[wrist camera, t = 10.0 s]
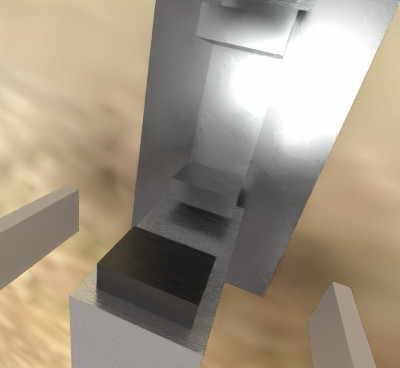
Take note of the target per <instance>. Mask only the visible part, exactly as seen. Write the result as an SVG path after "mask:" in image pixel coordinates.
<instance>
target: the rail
mask: <svg viewBox="0 0 400 368" xmlns="http://www.w3.org/2000/svg"><path fill="white" fill-rule="evenodd" d="M399 1H400V0H156V3H155V12H154V22H153V31H152V41H151V50H150V60H149V69H148V79H147V88H146V98H145V107H144V116H143V126H142V135H141V145H140V154H139V164H138V173H137V183H136V192H135V202H134V211H133V221H132V228H133V227H134V226H137V225H138V224H139V223H140V222H141V221H142V220H143V219H144V218H145V217H146V216H147V214H148V213H149V212H150V211H151V210H152V209H153V208H154V207H155V206H156V205H157V204H158V203H159V202H160V201H161V200H162V199H163V198H164V197H165V196H166V195H167V194H168V193H169V194H168V198H171V199H174V200H177V201H180V202H183V203H186V204H189V205H192V206H195V207H197V208H200V209H203V210H206V211H209V212H212V213H215V214H218V215H221V216H224V217H227V218H230V219H231V217H232V214H233V211H234V209H235V206H238V207H241V208H244V212H243V216H242V219H241V223H240V227H239V230H238V234H237V237H236V241H235V245H234V248H233V252H232V255H231V259H230V263H229V266H228V270H227V273H226V277H225V281H224V282H226V283H229V284H231V285H234V286H237V287H239V288H242V289H244V290H247V291H249V292H252V293H254V294H257V295H260V296H262V297H263V295H264V293H265V291H266V289H267V287H268V285H269V282H270V280H271V278H272V276H273V274H274V272H275V269H276V267H277V265H278V263H279V261H280V259H281V256H282V254H283V252H284V250H285V248H286V246H287V243H288V241H289V239H290V237H291V235H292V233H293V230H294V228H295V226H296V224H297V222H298V220H299V217H300V215H301V213H302V211H303V209H304V207H305V205H306V202H307V200H308V198H309V196H310V194H311V192H312V189H313V187H314V185H315V183H316V181H317V179H318V176H319V174H320V172H321V170H322V168H323V166H324V163H325V161H326V159H327V157H328V155H329V153H330V150H331V148H332V146H333V144H334V142H335V140H336V137H337V135H338V133H339V131H340V129H341V127H342V124H343V122H344V120H345V118H346V116H347V114H348V111H349V109H350V107H351V105H352V103H353V101H354V99H355V96H356V94H357V92H358V90H359V88H360V86H361V83H362V81H363V79H364V77H365V75H366V73H367V70H368V68H369V66H370V64H371V62H372V60H373V57H374V55H375V53H376V51H377V49H378V47H379V44H380V42H381V40H382V38H383V36H384V34H385V31H386V29H387V27H388V25H389V23H390V21H391V18H392V16H393V14H394V12H395V10H396V8H397V6H398V3H399Z"/></svg>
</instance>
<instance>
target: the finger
mask: <svg viewBox="0 0 400 368" xmlns="http://www.w3.org/2000/svg"><path fill="white" fill-rule="evenodd" d="M168 194H169V193H168ZM168 194H167V195H166V196H165V197H164V198H163V199H162V200H161V201H160V202H159V203H158V204H157V205H156V206H155V207H154V208H153V209H152V210H151V211H150V212H149V213H148V214H147V216H146V217H145V218H144V219H143V220H142V221H141V222H140V223H139V224H138V225H137V226H134V227H133V228H132V229H131V230H130V231H129V232H128V233H127V234H126V235H125V236H124V237H123V238H122V239H121V240H120V241H119V242H118V243H117V244H116V245H115V246H114V247H113V248H112V249H111V250H110V251H109V252H108V253H107V254H106V255H105V256H104V257H103V258H102V259H101V260H100V261H99V262H98V263H97V267H96V268H95V269H94V270H93V271H92V272H91V273H90V274H89V275H88V276H87V277H86V278H85V279H84V280H83V282H82V283H81V284H80V285H79V286H78V287H77V288H76V289H75V290H74V291H73V292H72V293H71V294H70V295H69V303H70V332H71V361H72V368H199V367H200V364H201V361H202V359H203V356H204V352H205V349H206V345H207V342H208V338H209V334H210V331H211V327H212V324H213V320H214V316H215V313H216V309H217V306H218V302H219V298H220V295H221V291H222V288H223V284H224V281H225V277H226V273H227V270H228V266H229V263H230V259H231V255H232V252H233V248H234V245H235V241H236V237H237V234H238V230H239V227H240V223H241V219H242V216H243V212H244V208H241V207H238V206H235V209H234V211H233V214H232V217H231V219H230V218H227V217H224V216H221V215H218V214H215V213H212V212H209V211H206V210H203V209H200V208H197V207H195V206H192V205H189V204H186V203H183V202H180V201H177V200H174V199H171V198H168Z"/></svg>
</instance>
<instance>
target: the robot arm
mask: <svg viewBox="0 0 400 368" xmlns="http://www.w3.org/2000/svg"><path fill="white" fill-rule="evenodd" d="M78 231H79V205H78V189H76V188H73V187H70V186H67V185H65V186H63V187H61V188H59V189H57V190H55V191H53V192H51V193H49V194H47V195H45V196H43V197H41V198H39V199H38V200H36V201H34V202H32V203H30V204H28V205H26V206H24V207H22V208H20V209H18V210H16V211H14V212H12V213H10V214H8V215H6V216H4V217H2V218H0V290H1V289H3V288H4V287H5V286H7V285H8V284H9V283H11V282H12V281H13V280H15V279H16V278H17V277H19V276H20V275H21V274H22V273H24V272H25V271H26V270H28V269H29V268H30V267H32V266H33V265H34V264H36V263H37V262H38V261H40V260H41V259H42V258H43V257H45V256H46V255H47V254H49V253H50V252H51V251H53V250H54V249H55V248H57V247H58V246H59V245H61V244H62V243H63V242H65V241H66V240H67V239H68V238H70V237H71V236H72V235H74V234H75V233H76V232H78ZM308 327H309V337H310V346H311V355H312V364H313V368H376V365H375V362H374V359H373V356H372V352H371V349H370V346H369V343H368V340H367V337H366V334H365V331H364V328H363V325H362V322H361V319H360V316H359V313H358V310H357V307H356V303H355V300H354V297H353V294H352V291H351V288H350V287H347V286H344V285H341V284H339V283H336V282H333V281H332V283H331V284H330V286H329V287H328V289H327V291H326V292H325V294H324V296H323V297H322V299H321V300H320V302H319V304H318V305H317V307H316V309H315V310H314V312H313V313H312V315H311V317H310V318H309V320H308Z"/></svg>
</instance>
